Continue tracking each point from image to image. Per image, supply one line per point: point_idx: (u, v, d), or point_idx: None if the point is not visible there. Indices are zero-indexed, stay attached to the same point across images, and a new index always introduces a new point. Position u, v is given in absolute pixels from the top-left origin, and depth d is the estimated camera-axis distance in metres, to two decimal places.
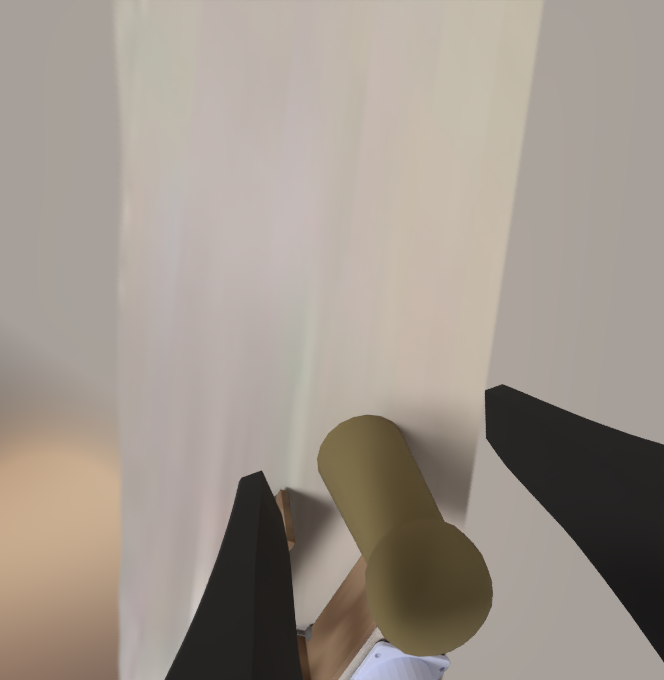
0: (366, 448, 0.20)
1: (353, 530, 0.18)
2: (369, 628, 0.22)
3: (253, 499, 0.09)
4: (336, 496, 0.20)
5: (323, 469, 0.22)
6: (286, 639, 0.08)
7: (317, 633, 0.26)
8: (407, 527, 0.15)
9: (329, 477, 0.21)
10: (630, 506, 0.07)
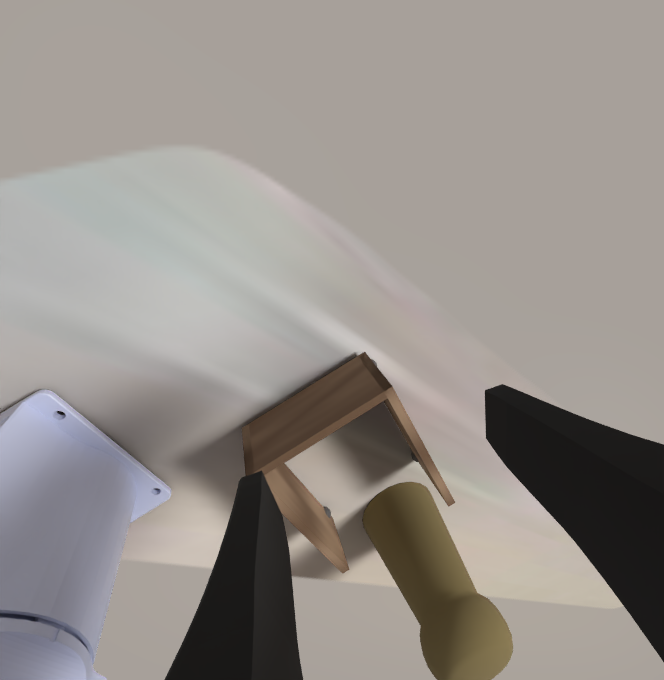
0: None
1: (454, 558, 0.24)
2: (318, 539, 0.21)
3: (253, 500, 0.09)
4: (437, 523, 0.26)
5: (426, 496, 0.28)
6: (286, 639, 0.08)
7: None
8: None
9: (433, 508, 0.27)
10: (630, 506, 0.07)
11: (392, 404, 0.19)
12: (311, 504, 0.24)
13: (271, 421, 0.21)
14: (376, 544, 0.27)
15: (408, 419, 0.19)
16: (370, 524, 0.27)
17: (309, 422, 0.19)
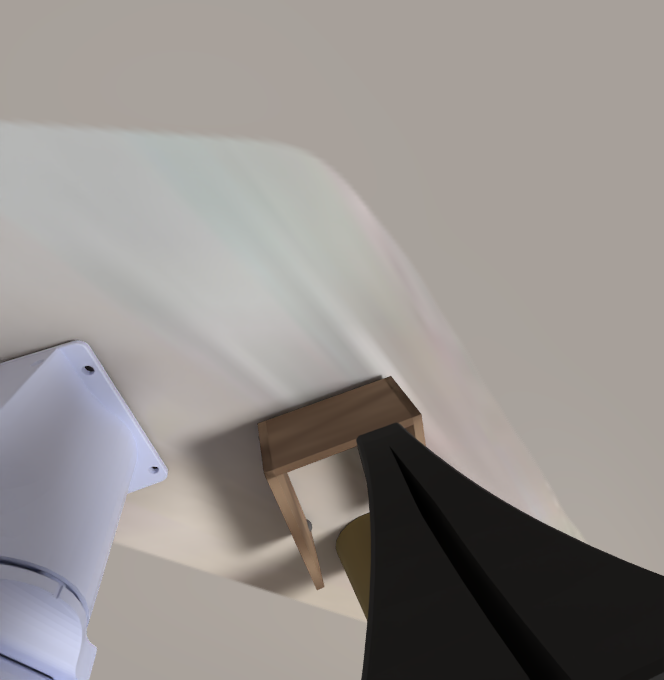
0: None
1: None
2: (306, 550, 0.21)
3: (383, 452, 0.09)
4: None
5: None
6: None
7: None
8: None
9: None
10: (470, 573, 0.07)
11: (415, 431, 0.20)
12: (301, 514, 0.24)
13: (291, 423, 0.21)
14: (348, 567, 0.27)
15: None
16: (345, 546, 0.27)
17: (333, 431, 0.19)
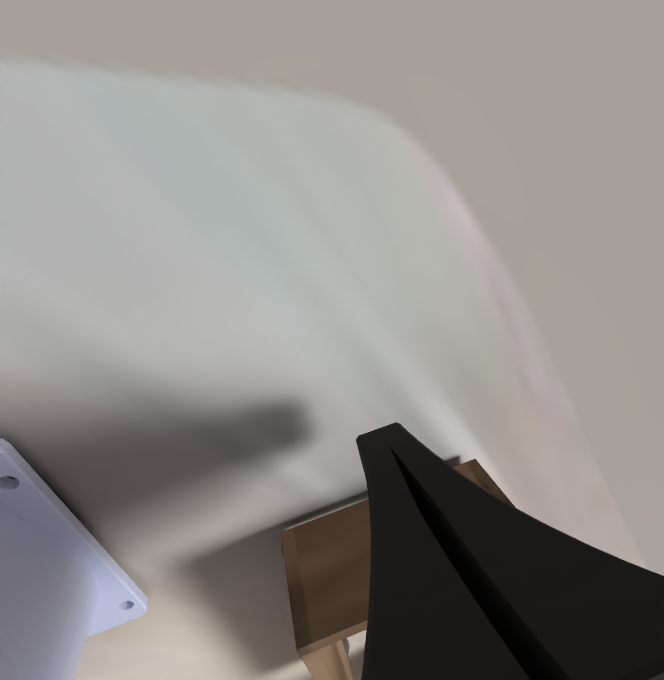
0: None
1: None
2: None
3: (383, 452, 0.09)
4: None
5: None
6: None
7: None
8: None
9: None
10: (470, 573, 0.07)
11: None
12: (338, 646, 0.17)
13: (332, 539, 0.14)
14: None
15: None
16: None
17: None
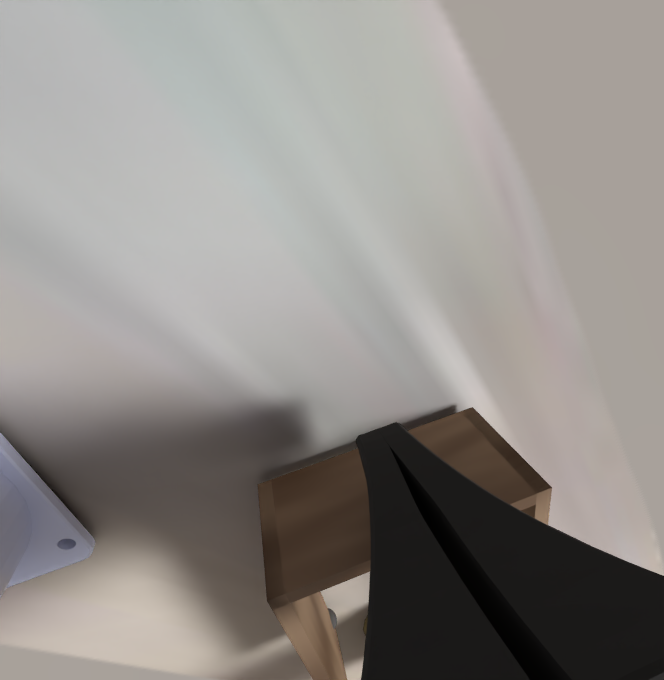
0: None
1: None
2: None
3: (383, 452, 0.09)
4: None
5: None
6: None
7: None
8: None
9: None
10: (470, 573, 0.07)
11: (536, 514, 0.11)
12: (323, 615, 0.15)
13: (314, 489, 0.12)
14: None
15: None
16: None
17: None
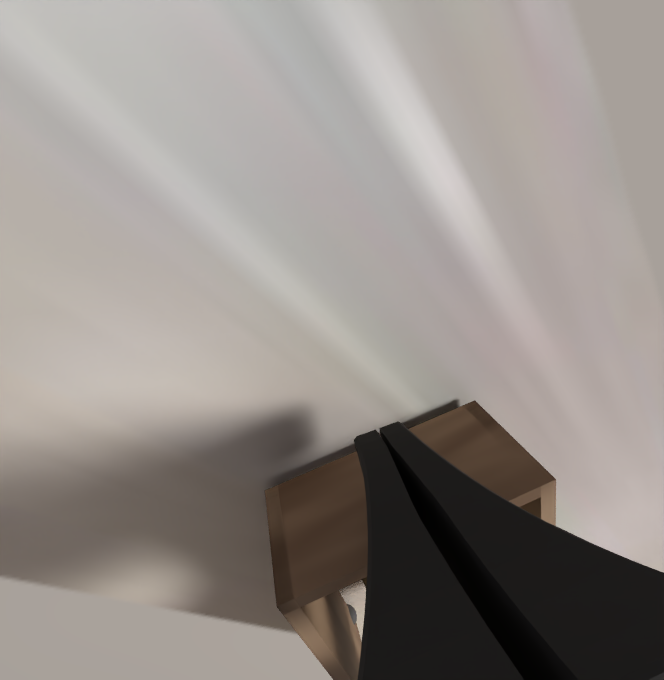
0: None
1: None
2: None
3: (381, 452, 0.09)
4: None
5: None
6: None
7: None
8: None
9: None
10: (473, 572, 0.07)
11: (542, 506, 0.11)
12: (341, 613, 0.16)
13: (319, 492, 0.13)
14: None
15: None
16: None
17: None
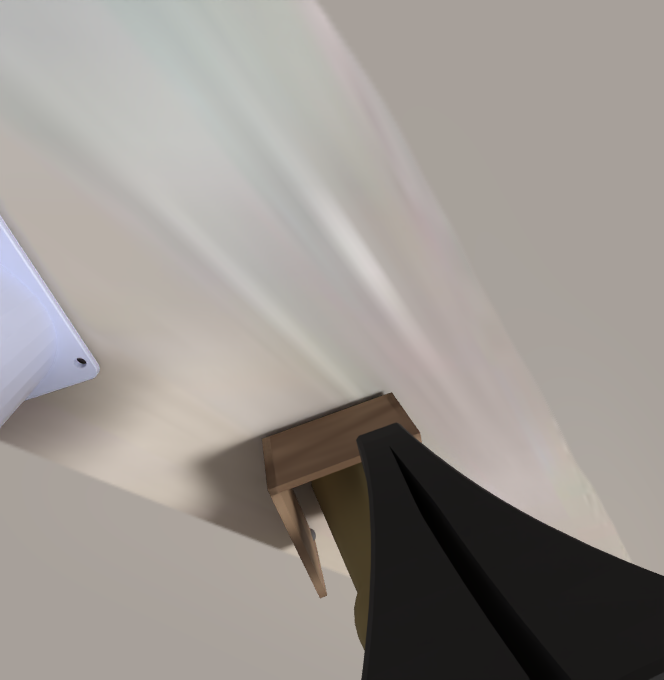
0: None
1: None
2: (309, 561, 0.22)
3: (383, 452, 0.09)
4: None
5: None
6: None
7: None
8: None
9: None
10: (470, 573, 0.07)
11: None
12: (304, 524, 0.25)
13: (294, 439, 0.21)
14: (322, 501, 0.23)
15: None
16: (320, 478, 0.24)
17: (335, 449, 0.20)
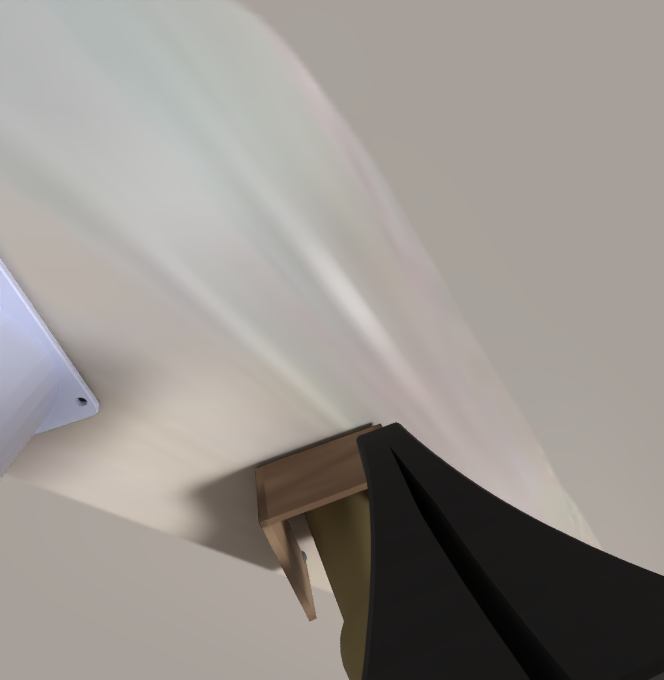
0: None
1: None
2: (299, 587, 0.23)
3: (383, 452, 0.09)
4: None
5: None
6: None
7: None
8: None
9: None
10: (470, 573, 0.07)
11: None
12: (295, 549, 0.25)
13: (285, 470, 0.22)
14: (313, 527, 0.24)
15: None
16: None
17: (324, 482, 0.21)
